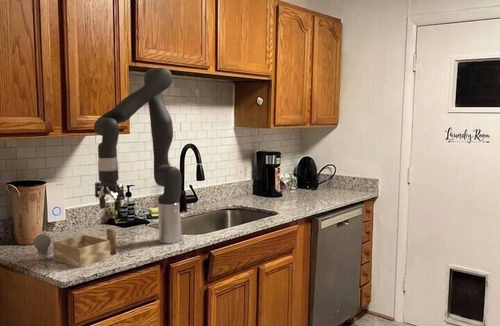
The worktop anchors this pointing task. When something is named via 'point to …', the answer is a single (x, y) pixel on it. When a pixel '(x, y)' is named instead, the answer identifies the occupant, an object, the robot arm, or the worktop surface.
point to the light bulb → (42, 245)
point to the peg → (112, 240)
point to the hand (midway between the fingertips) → (110, 209)
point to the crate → (81, 250)
